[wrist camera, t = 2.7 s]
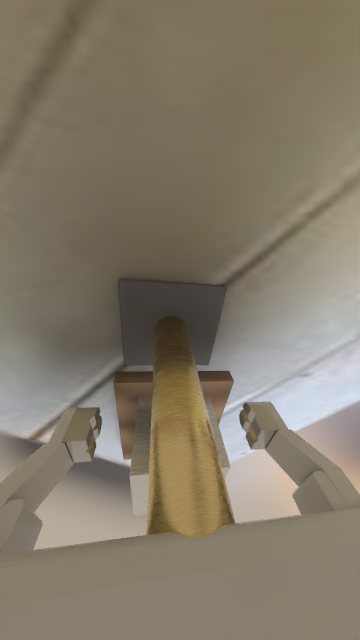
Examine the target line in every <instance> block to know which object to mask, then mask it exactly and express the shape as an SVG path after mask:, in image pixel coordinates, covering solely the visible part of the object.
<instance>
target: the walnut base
mask: <svg viewBox="0 0 360 640" xmlns="http://www.w3.org/2000/svg"><path fill="white" fill-rule="evenodd" d="M198 376H199V380H200V384H201V388H202V392H203V394H210V398H211V401H212V405H213V408H214V412H215V415H216V419H217V422H218V425H219V422H220V419H221V416H222V413H223V410H224V408H225V405H226V402H227V399H228V396H229V394H230V391H231V388H232V385H233V382H234V380H233V378H232V376H231V374H230V372H229V371H203V372H198ZM114 388H115V396H116V404H117V412H118V419H119V427H120V435H121V443H122V450H123V458H124V460H125V459H132V452H133V443H134V435H135V426H136V417H137V409H138V400H139V395H152V388H153V372H117V374H116V377H115V381H114Z"/></svg>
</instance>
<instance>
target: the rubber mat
mask: <svg viewBox="0 0 360 640" xmlns="http://www.w3.org/2000/svg"><path fill="white" fill-rule="evenodd" d="M118 286H119V299H120V312H121V324H122V337H123V350H124V362H125V365H153V364H154V340H155V327H156V324H157V323H158V322H159V321H160V320H161V319H163V318H165V317H168V316H174V317H178V318H180V319H182V320H183V321H184V323H185V324H186V328H187V332H188V336H189V340H190V344H191V348H192V352H193V356H194V360H195V364H196V365H208V364H209V360H210V356H211V352H212V348H213V343H214V339H215V335H216V331H217V327H218V322H219V318H220V314H221V310H222V305H223V301H224V297H225V293H226V289H227V287H226V286H222V285H207V284H191V283H175V282H159V281H144V280H128V279H119V280H118Z"/></svg>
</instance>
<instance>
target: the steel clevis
mask: <svg viewBox="0 0 360 640" xmlns="http://www.w3.org/2000/svg"><path fill="white" fill-rule="evenodd" d="M203 396H204V400H205V404H206V408H207V412H208V416H209V420H210V424H211V428H212V432H213V436H214V440H215V444H216V448H217V452H218V456H219V460H220V464H221V468H222V472H223V476H224V478H225V476H226V475H227V473H228V471H229V469H230V464H229V461H228V457H227V454H226V450H225V447H224V443H223V440H222V436H221V433H220V429H219V426H218V422H217V419H216V415H215V412H214V408H213V405H212V401H211V398H210V394H203ZM151 412H152V395H139V400H138V409H137V417H136V426H135V435H134V443H133V452H132V460H131V469H130V484H131V493H132V503H133V512H134V516H137V515H145V514H147V508H148V484H149V460H150V436H151Z"/></svg>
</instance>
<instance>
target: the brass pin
mask: <svg viewBox="0 0 360 640" xmlns="http://www.w3.org/2000/svg"><path fill="white" fill-rule="evenodd" d="M234 523H235V520H234V516H233V512H232V508H231V504H230V500H229V496H228V492H227V488H226V484H225V480H224V476H223V472H222V468H221V464H220V460H219V456H218V452H217V448H216V444H215V440H214V436H213V432H212V428H211V424H210V420H209V416H208V412H207V408H206V404H205V400H204V396H203V392H202V388H201V384H200V380H199V376H198V372H197V368H196V364H195V360H194V356H193V352H192V348H191V344H190V340H189V336H188V332H187V328H186V324H185V323H184V321H183V320H182V319H180V318H178V317H174V316H168V317H165V318H163V319H161V320H160V321H159V322H158V323H157V324H156V327H155V340H154V364H153V388H152V412H151V436H150V460H149V484H148V508H147V533H146V535H151V534H159V533H166V532H172V533H178V534H182V535H185V536H189V537H192V538H198V539H202V538H204V537H207V536H208V535H210V534H212V533H213V532H215V531H216V530H217V529H219V528H220V527H222V526H224V525H227V524H234Z"/></svg>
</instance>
